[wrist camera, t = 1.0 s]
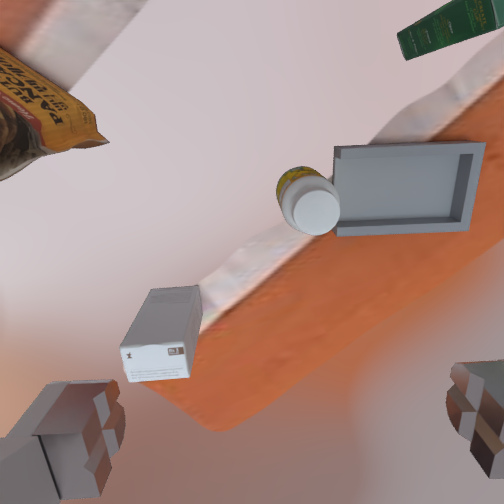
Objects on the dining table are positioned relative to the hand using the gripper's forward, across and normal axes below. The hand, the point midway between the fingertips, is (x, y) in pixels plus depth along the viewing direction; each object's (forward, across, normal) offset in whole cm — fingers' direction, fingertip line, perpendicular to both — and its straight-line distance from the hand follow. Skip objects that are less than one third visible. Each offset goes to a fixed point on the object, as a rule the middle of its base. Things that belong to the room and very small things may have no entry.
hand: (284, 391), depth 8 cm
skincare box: (+32, +10, +14) cm, 36 cm away
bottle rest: (+31, -15, +1) cm, 35 cm away
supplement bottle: (+31, -5, +1) cm, 32 cm away
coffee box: (+31, -18, -14) cm, 39 cm away
